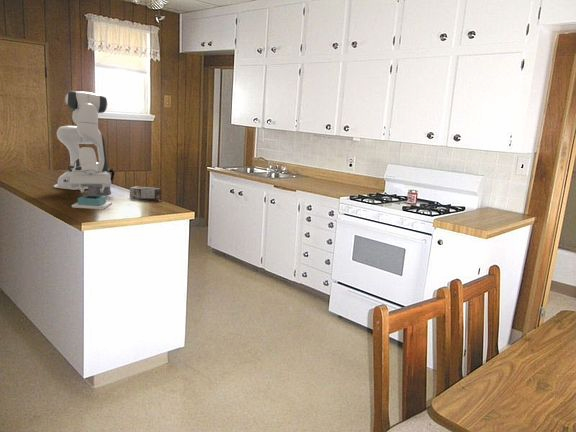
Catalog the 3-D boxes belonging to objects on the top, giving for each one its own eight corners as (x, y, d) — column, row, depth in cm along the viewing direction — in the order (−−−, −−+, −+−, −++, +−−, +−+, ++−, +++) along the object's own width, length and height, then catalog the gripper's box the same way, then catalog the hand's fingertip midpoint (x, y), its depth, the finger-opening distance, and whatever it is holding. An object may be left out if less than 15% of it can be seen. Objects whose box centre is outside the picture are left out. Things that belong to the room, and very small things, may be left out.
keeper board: (71, 207, 240) (71, 198, 239) (82, 202, 254) (82, 193, 253) (103, 209, 241) (103, 200, 240) (111, 204, 255) (111, 195, 254)
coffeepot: (88, 192, 281) (88, 163, 278) (100, 191, 290) (99, 162, 286) (108, 196, 276) (108, 166, 272) (119, 194, 285) (119, 165, 281)
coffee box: (129, 198, 275) (154, 201, 272) (129, 187, 273) (154, 190, 271) (137, 196, 283) (161, 198, 281) (137, 185, 282) (161, 188, 279)
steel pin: (86, 203, 246) (86, 187, 244) (91, 202, 249) (91, 186, 247) (93, 204, 245) (93, 187, 243) (97, 203, 249) (97, 186, 247)
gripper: (109, 175, 259) (112, 195, 253) (69, 175, 249) (71, 196, 243) (110, 168, 254) (113, 188, 248) (69, 167, 244) (72, 189, 238)
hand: (92, 192), depth 245 cm, fingers open, 8 cm apart
